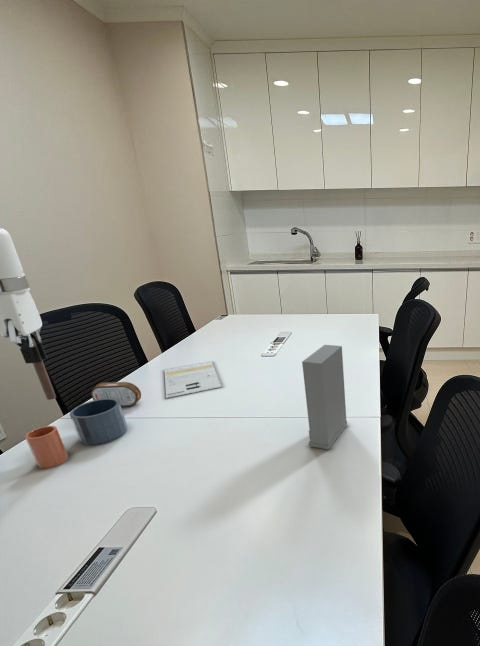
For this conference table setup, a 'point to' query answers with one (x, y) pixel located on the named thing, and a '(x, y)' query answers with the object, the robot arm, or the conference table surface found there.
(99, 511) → the conference table surface
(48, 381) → the stick
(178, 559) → the conference table surface
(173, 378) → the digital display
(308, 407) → the cassette tape recorder
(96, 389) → the tin
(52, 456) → the cup
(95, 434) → the pot
